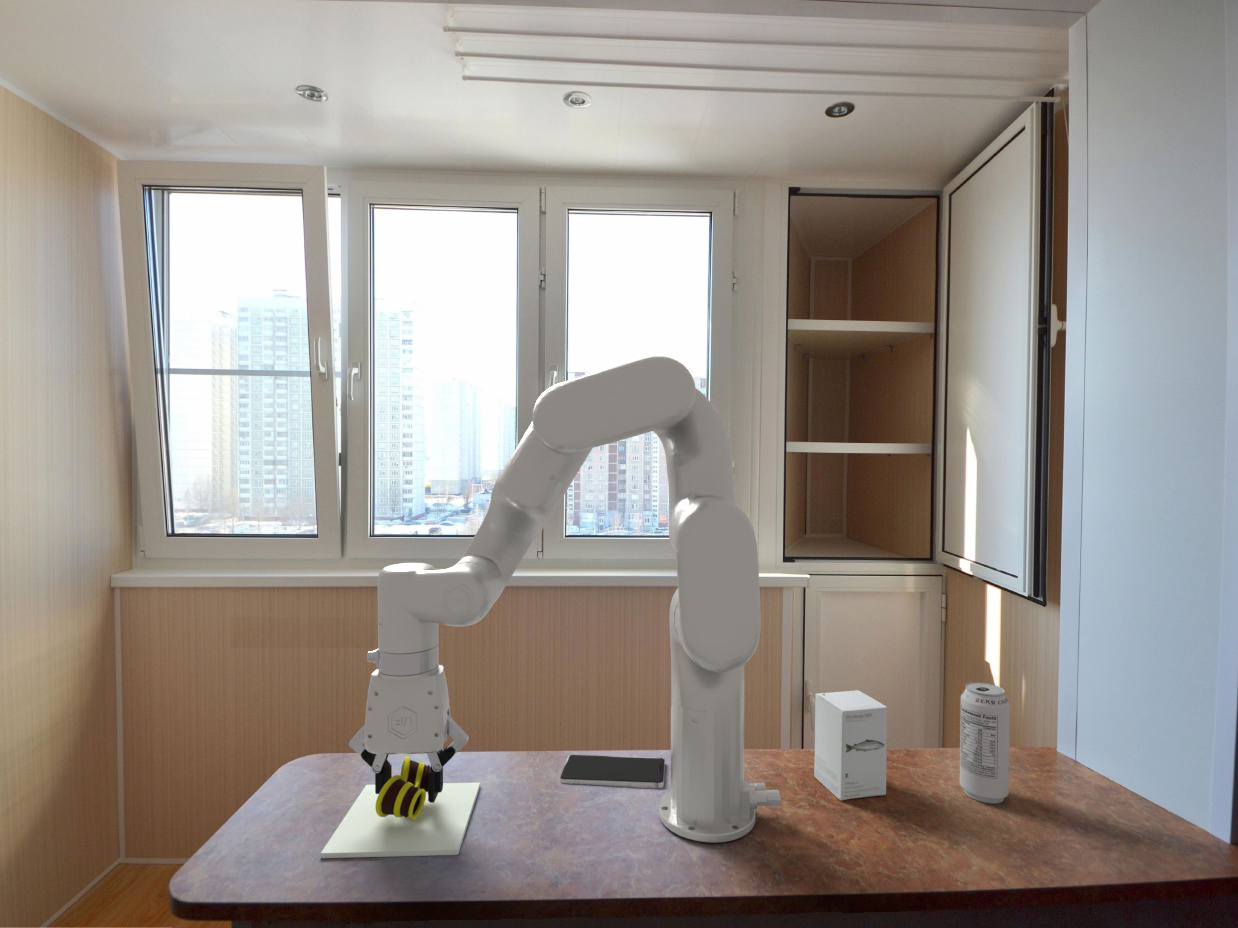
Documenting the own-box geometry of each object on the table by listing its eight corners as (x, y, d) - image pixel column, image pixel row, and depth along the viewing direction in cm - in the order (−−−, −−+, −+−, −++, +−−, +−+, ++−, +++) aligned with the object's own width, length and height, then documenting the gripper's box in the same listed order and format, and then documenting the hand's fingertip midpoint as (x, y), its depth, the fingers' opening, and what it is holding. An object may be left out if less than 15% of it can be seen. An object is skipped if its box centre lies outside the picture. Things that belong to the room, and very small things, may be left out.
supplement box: (840, 802, 90) (841, 710, 90) (813, 776, 97) (813, 691, 97) (888, 796, 92) (889, 706, 92) (857, 771, 99) (858, 687, 99)
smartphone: (569, 753, 103) (664, 757, 102) (569, 761, 103) (664, 765, 102) (559, 779, 95) (663, 783, 94) (559, 787, 95) (663, 791, 94)
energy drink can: (1018, 799, 91) (1019, 691, 91) (990, 809, 88) (991, 698, 88) (977, 780, 96) (979, 678, 96) (950, 789, 94) (951, 684, 94)
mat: (480, 786, 94) (480, 782, 94) (458, 854, 78) (458, 849, 78) (366, 788, 93) (366, 784, 93) (320, 858, 77) (320, 853, 77)
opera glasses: (413, 832, 81) (420, 792, 81) (371, 823, 81) (378, 783, 81) (436, 791, 90) (443, 756, 90) (399, 784, 91) (406, 748, 91)
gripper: (330, 670, 81) (331, 815, 81) (470, 667, 82) (471, 811, 82) (351, 652, 89) (352, 785, 89) (480, 650, 90) (480, 781, 90)
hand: (409, 796), depth 86 cm, fingers closed on opera glasses, 5 cm apart
